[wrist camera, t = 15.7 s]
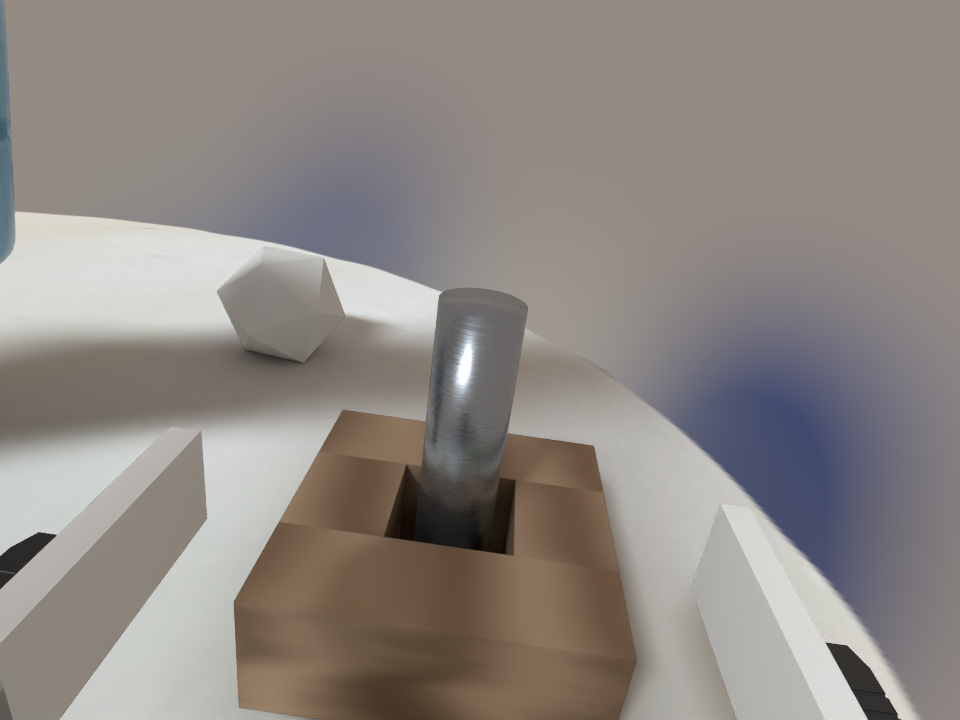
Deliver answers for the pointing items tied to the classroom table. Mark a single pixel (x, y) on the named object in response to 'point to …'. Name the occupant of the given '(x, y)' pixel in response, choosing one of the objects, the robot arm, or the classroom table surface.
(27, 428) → the classroom table surface
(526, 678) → the hole block
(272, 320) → the die
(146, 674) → the classroom table surface
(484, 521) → the long metal pin
